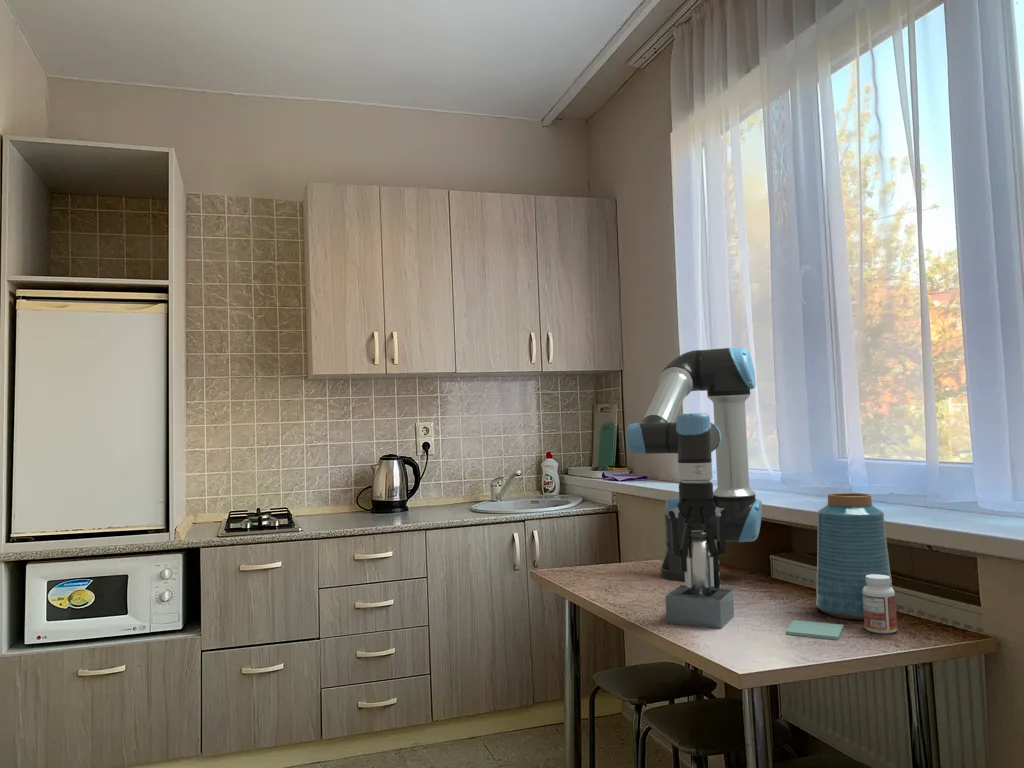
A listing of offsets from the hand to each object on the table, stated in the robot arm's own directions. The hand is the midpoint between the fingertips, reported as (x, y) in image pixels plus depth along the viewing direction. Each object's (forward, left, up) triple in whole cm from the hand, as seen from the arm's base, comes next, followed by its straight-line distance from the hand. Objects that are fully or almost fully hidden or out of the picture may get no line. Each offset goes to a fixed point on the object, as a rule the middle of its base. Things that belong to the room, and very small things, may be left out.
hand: (699, 585), depth 170 cm
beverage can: (-17, -3, -8) cm, 19 cm away
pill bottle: (-6, +36, -8) cm, 37 cm away
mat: (0, +24, -7) cm, 25 cm away
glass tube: (0, 0, -4) cm, 4 cm away
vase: (-20, +30, -8) cm, 37 cm away
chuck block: (0, 0, -7) cm, 7 cm away
